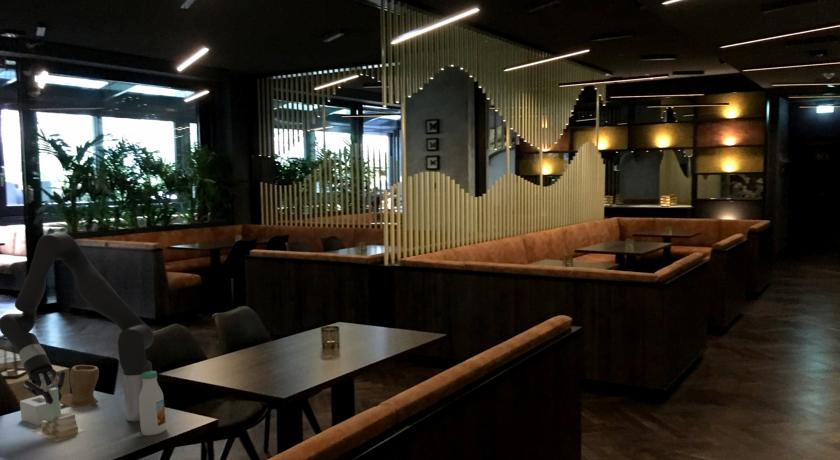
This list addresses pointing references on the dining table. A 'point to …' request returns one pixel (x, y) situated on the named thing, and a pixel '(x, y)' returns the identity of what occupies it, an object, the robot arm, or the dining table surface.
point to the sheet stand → (34, 410)
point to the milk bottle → (151, 405)
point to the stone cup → (81, 386)
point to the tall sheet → (53, 404)
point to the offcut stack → (64, 425)
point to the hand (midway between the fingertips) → (55, 401)
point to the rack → (47, 432)
